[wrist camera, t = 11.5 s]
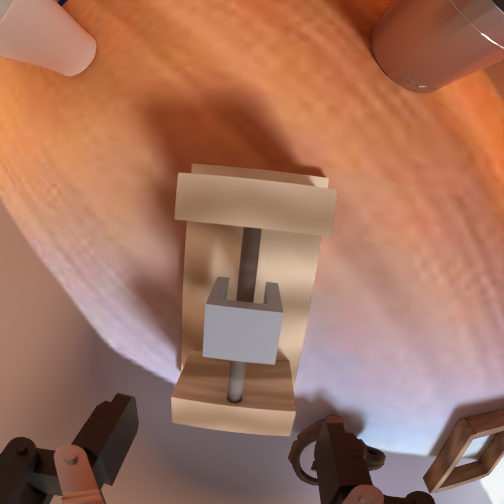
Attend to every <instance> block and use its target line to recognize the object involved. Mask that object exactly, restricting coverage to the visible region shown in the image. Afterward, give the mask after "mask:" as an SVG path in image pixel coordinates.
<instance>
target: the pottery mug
mask: <svg viewBox="0 0 504 504" xmlns="http://www.w3.org/2000/svg"><path fill="white" fill-rule="evenodd" d="M342 421H343V419H342V417H339V416H333V415H330V416H329V417H327V418H326V420H324V419H323V420H320V421H318V422H316V423H314V424H313V425H311V426H309V427H308V428H306V429H305V430H303V431H302V432H301V433H300V434H299V435H298V436H297V438H298V440H296V441H294V442H293V444H292V447H291V451H290V454H289V457H288V459H289V460H290V462H291V464H292V466H293V468H294V471H295V473H296V475H297V476H298V477H299V478H300V480H302V481H304V482H306V483H308V484H311V485H318V479H316V478H313V477H311V476H309V475H307V474H306V473H305V472H304V471H303V470H302V468H301V467H300V462H299V459H300V454H301V452H302V451H303V449H304V448H305V447H306V446H308V445H309V444H310V443H312V442H314V441H317V439H318V436H319V433H320V430H321V428H322V425H323V423H324V422H342ZM344 430H345V429H344ZM345 433H349V432H348V431H347V430H345ZM359 441H360V444H361V448H362V451H363V454H364V459H365V461H366V464H367V467H368V471H372V470H376V469H379V468H381V467H382V466H383V465H384V461H385V457H386V456H385V455H384V453H383V452H382V451H380V450H378V449H375V448H373V447H370V446H367V445H366V444H365V443H364V442H363V441H362V440H361V439H359ZM311 470H312V471H316V465H315V461H313V464H312V467H311Z"/></svg>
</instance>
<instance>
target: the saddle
mask: <svg viewBox="0 0 504 504" xmlns="http://www.w3.org/2000/svg"><path fill="white" fill-rule="evenodd" d="M229 279H230V278H228V277H219V276H218V277H217V279H216V281H215V283H214V286H213V288H212V290H211V293H210V295H209V297H208V300H207V302H206V305H205V321H204V339H203V357H209V358H216V359H224V360H232V361H241V362H251V363H261V364H272V365H275V361H276V355H277V349H278V343H279V337H280V331H281V325H282V318H283V308H282V302H281V296H280V291H279V285H278V283H273V282H266V286H265V293H264V301H263V304H260V303H251V302H242V301H233V300H228V290H229Z"/></svg>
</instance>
